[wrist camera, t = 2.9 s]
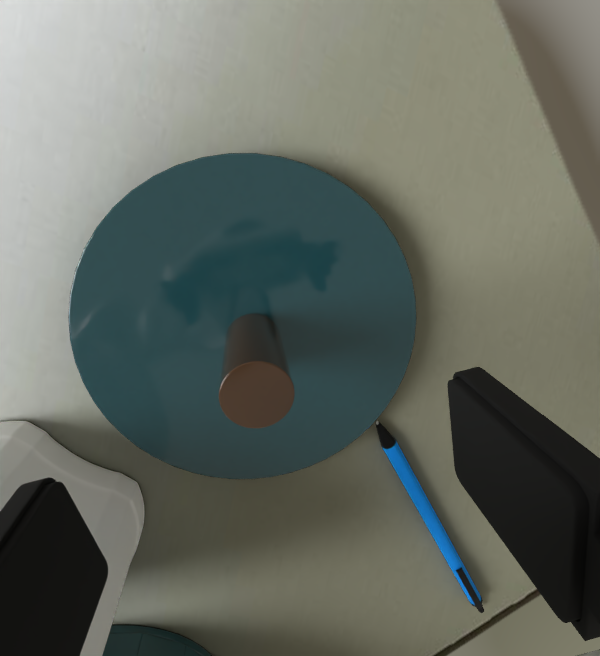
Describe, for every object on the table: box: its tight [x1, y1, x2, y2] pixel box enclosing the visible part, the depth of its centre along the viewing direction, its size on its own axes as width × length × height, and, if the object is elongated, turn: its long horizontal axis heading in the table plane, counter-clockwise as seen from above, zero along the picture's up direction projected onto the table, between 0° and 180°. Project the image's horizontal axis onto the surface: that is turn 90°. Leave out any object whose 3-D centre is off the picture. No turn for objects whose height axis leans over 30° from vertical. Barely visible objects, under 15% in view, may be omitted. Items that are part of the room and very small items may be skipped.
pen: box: [376, 421, 484, 613], centre depth 25 cm, size 1×19×1 cm, turn 28°
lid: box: [68, 153, 416, 479], centre depth 16 cm, size 16×16×7 cm
